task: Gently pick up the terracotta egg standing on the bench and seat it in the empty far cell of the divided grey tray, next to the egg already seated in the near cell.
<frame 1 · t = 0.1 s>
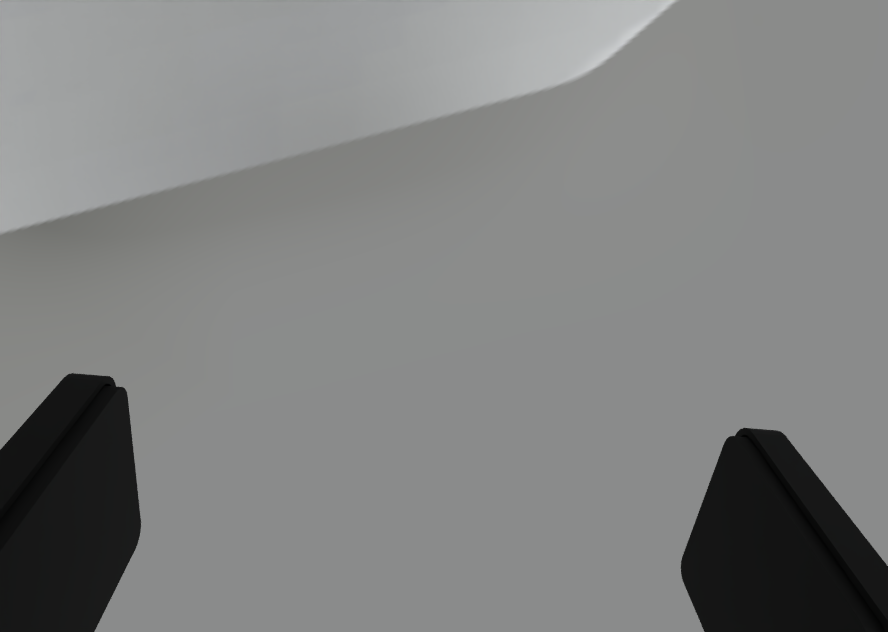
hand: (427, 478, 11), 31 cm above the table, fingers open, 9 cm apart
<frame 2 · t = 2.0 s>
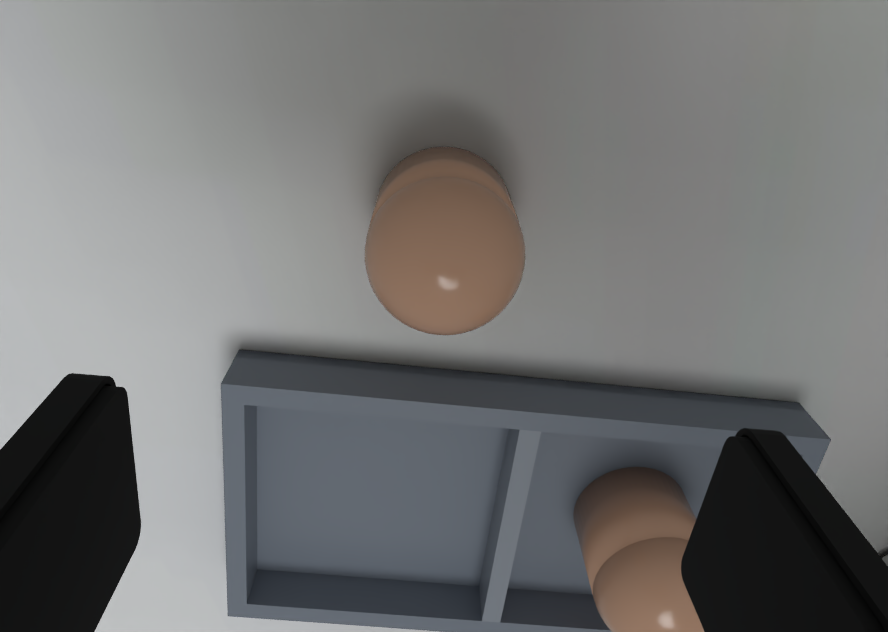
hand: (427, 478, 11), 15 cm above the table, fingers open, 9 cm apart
divided grey tray: (503, 491, 30), on the table
seated egg: (629, 511, 29), point 1 cm above the table, touching divided grey tray
egg: (443, 215, 24), on the table
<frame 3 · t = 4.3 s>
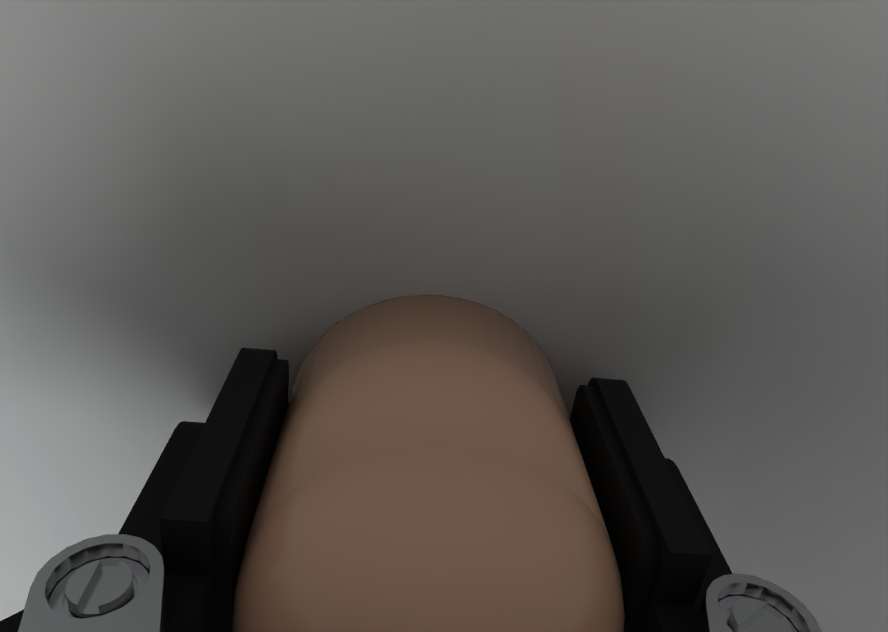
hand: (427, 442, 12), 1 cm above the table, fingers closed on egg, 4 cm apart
egg: (426, 416, 12), on the table, touching gripper
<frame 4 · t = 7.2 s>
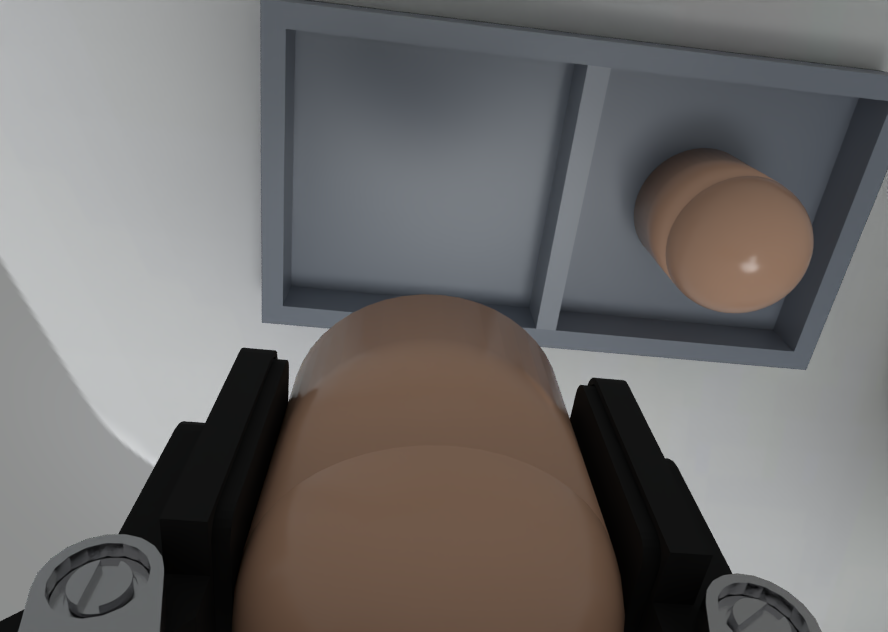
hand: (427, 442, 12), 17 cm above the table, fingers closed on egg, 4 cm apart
divided grey tray: (558, 190, 27), on the table
seated egg: (693, 208, 27), point 1 cm above the table, touching divided grey tray
egg: (426, 415, 12), point 16 cm above the table, touching gripper
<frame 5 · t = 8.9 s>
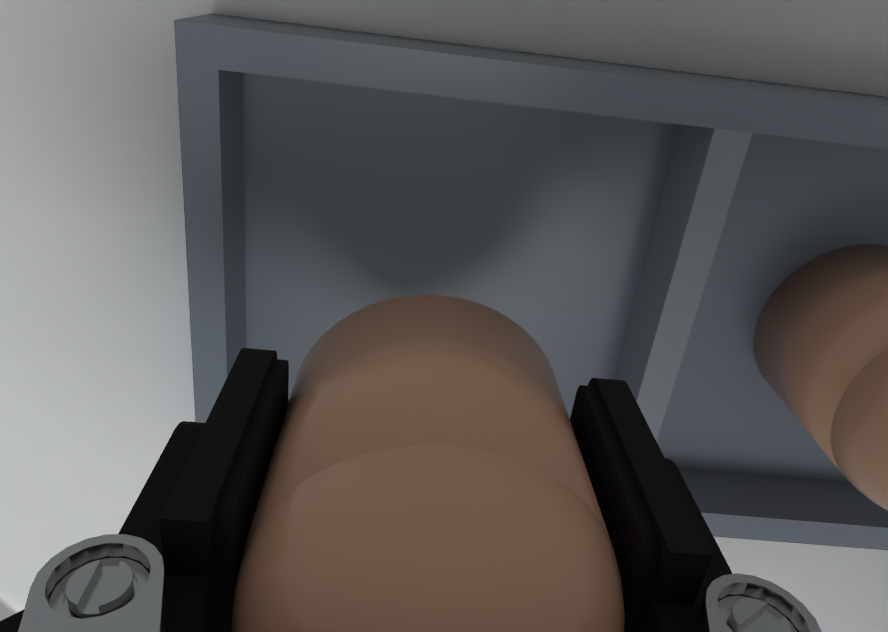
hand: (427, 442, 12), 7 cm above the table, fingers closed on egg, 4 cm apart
divided grey tray: (641, 299, 18), on the table
seated egg: (844, 328, 18), point 1 cm above the table, touching divided grey tray
egg: (426, 416, 12), point 6 cm above the table, touching gripper
when the fingers open (3 cm above the table, at t = 10.5 s): egg drops 2 cm, resting on divided grey tray.
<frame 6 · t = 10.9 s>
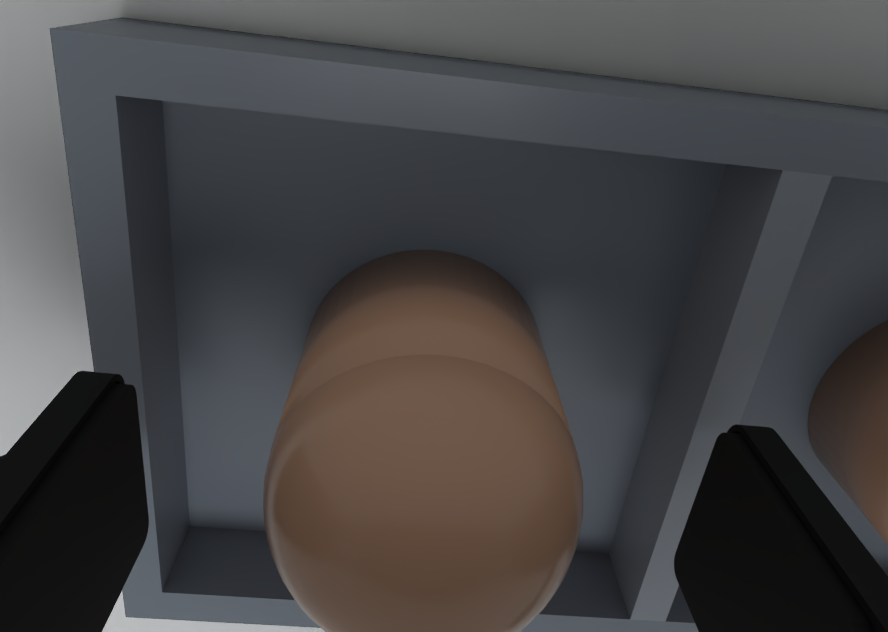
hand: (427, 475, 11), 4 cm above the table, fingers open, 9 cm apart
divided grey tray: (670, 366, 15), on the table
egg: (424, 359, 14), point 1 cm above the table, touching divided grey tray
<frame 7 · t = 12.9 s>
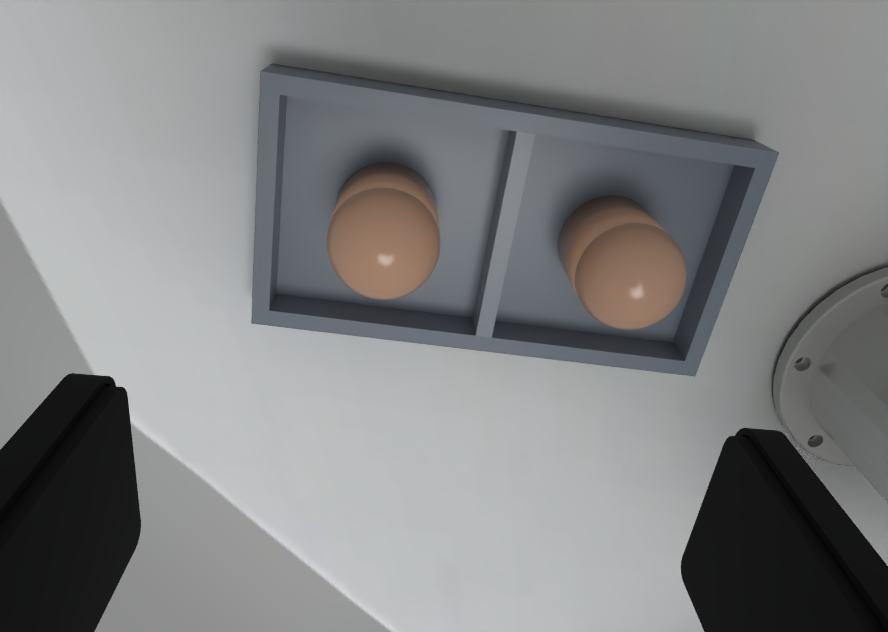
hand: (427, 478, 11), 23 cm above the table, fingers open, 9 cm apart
divided grey tray: (497, 223, 34), on the table
seated egg: (606, 242, 34), point 1 cm above the table, touching divided grey tray
egg: (386, 212, 33), point 1 cm above the table, touching divided grey tray
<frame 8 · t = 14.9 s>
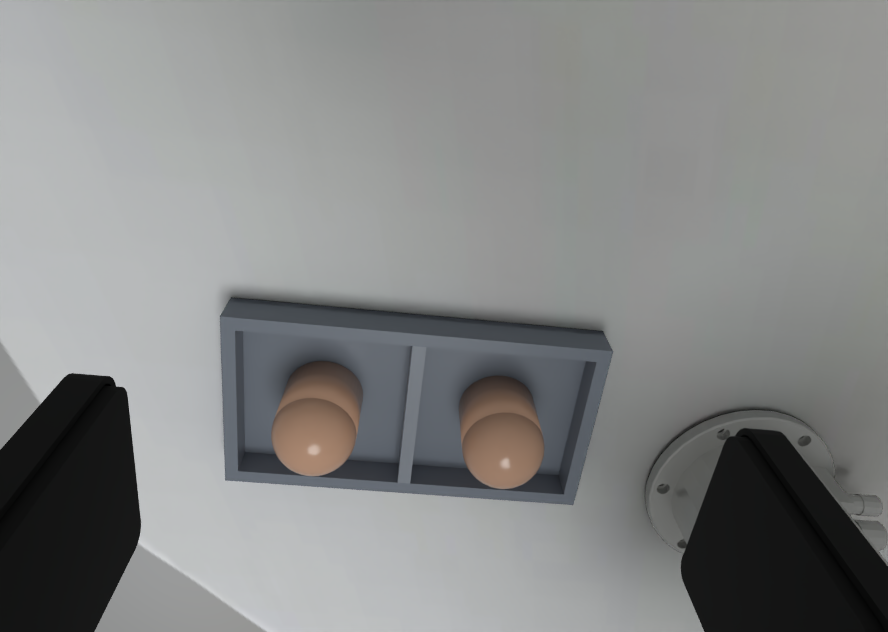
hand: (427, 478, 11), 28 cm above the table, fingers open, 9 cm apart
divided grey tray: (411, 395, 44), on the table
seated egg: (496, 407, 44), point 1 cm above the table, touching divided grey tray
egg: (324, 394, 43), point 1 cm above the table, touching divided grey tray
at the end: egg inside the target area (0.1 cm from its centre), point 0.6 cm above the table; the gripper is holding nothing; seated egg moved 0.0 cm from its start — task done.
